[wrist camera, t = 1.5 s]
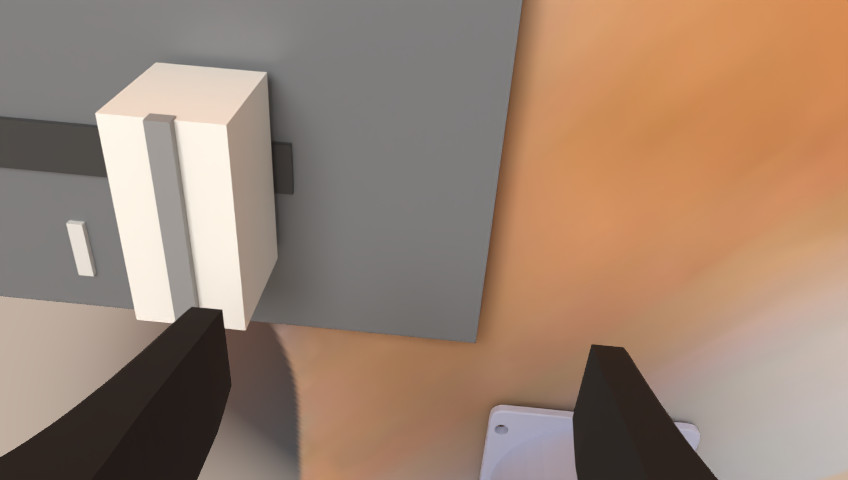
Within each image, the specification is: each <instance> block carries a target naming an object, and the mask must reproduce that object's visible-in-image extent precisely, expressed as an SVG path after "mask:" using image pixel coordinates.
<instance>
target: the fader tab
mask: <svg viewBox="0 0 848 480" xmlns="http://www.w3.org/2000/svg"><path fill="white" fill-rule="evenodd" d="M95 115H96V120H97V125H98V130H99V135H100V140H101V145H102V150H103V155H104V160H105V165H106V170H107V175H108V180H109V185H110V190H111V195H112V200H113V205H114V210H115V215H116V220H117V225H118V230H119V235H120V240H121V245H122V250H123V255H124V260H125V265H126V270H127V274H128V279H129V284H130V289H131V294H132V299H133V304H134V309H135V314H136V319H137V320H146V321H156V322H167V323H174V322H175V321H176V320H177V319H178V318H179V317H180V316H181V315H182V314H183V313H185V312H186V311H187V310H188V309H189V308H191V307H200V308H211V309H221V310H222V311H223V319H224V327H225V328H228V329H237V330H246V328H247V326H248V324H249V321H250V319H251V317H252V315H253V313H254V310H255V308H256V306H257V304H258V301H259V299H260V297H261V295H262V292H263V290H264V288H265V286H266V283H267V281H268V279H269V277H270V274H271V272H272V270H273V268H274V265H275V263H276V261H277V259H278V254H277V236H276V219H275V202H274V185H273V168H272V150H271V133H270V116H269V99H268V81H267V72H259V71H247V70H236V69H225V68H214V67H202V66H191V65H180V64H169V63H157V62H156V63H155V64H153V65H152V66H151V67H150V68H149V69H147V70H146V71H145V72H144V73H143V74H141V75H140V76H139V77H138V78H137V79H135V80H134V81H133V82H132V83H131V84H129V85H128V86H127V87H126V88H125V89H123V90H122V91H121V92H120V93H119V94H117V95H116V96H115V97H114V98H113V99H111V100H110V101H109V102H108V103H107V104H105V105H104V106H103V107H102V108H101V109H99V110H98V111H97V112H96V113H95Z"/></svg>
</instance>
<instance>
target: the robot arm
mask: <svg viewBox="0 0 848 480" xmlns="http://www.w3.org/2000/svg"><path fill="white" fill-rule="evenodd" d="M230 388H231V377H230V369H229V361H228V353H227V344H226V336H225V327H224V319H223V311H222V310H221V309H211V308H200V307H191V308H189V309H188V310H187V311H186V312H185V313H183V314H182V315H181V316H180V317H179V318H178V319H177V320H176V321H175V322H174V323H172V324H171V325H170V326H169V327H168V328H167V329H166V330H165V331H164V332H163V333H162V334H161V335H160V336H158V337H157V338H156V339H155V340H154V341H153V342H152V343H151V344H150V345H148V346H147V347H146V348H145V349H144V350H143V351H142V352H141V353H140V354H138V355H137V356H136V357H135V358H134V359H133V360H132V361H130V362H129V363H128V364H127V365H126V366H125V367H123V368H122V369H121V370H120V371H119V372H118V373H117V374H115V375H114V376H113V377H112V378H111V379H110V380H108V381H107V382H106V383H105V384H103V385H102V386H101V387H100V388H98V389H97V390H96V391H95V392H93V393H92V394H91V395H90V396H88V397H87V398H86V399H85V400H83V401H82V402H81V403H79V404H78V405H77V406H76V407H74V408H73V409H72V410H70V411H69V412H68V413H66V414H65V415H64V416H62V417H61V418H59V419H58V420H57V421H56V422H54V423H53V424H51V425H50V426H48V427H47V428H45V429H44V430H42V431H41V432H40V433H38V434H37V435H35V436H34V437H32V438H31V439H29V440H28V441H26V442H25V443H23V444H21V445H20V446H18V447H17V448H15V449H14V450H12V451H10V452H8V453H7V454H5V455H3V456H2V457H0V480H197V478H198V476H199V474H200V471H201V469H202V467H203V465H204V462H205V460H206V458H207V455H208V453H209V451H210V448H211V446H212V444H213V442H214V439H215V437H216V435H217V432H218V429H219V426H220V423H221V419H222V416H223V413H224V410H225V406H226V402H227V399H228V395H229V392H230ZM498 425H504V427H499V426H498ZM700 438H701V436H700V433H699V430H698V428H697V427H696V426H695V425H693V424H689V423H680V422H673V421H672V419H671V418H670V416H669V415H668V414H667V412H666V411H665V409H664V408H663V406H662V405H661V403H660V402H659V400H658V399H657V397H656V396H655V394H654V393H653V391H652V390H651V388H650V387H649V385H648V384H647V382H646V381H645V379H644V378H643V376H642V375H641V373H640V371H639V370H638V368H637V367H636V365H635V363H634V362H633V360H632V359H631V357H630V356H629V354H628V352H627V351H626V350H625V349H624V347H614V346H603V345H591V349H590V353H589V357H588V361H587V364H586V368H585V372H584V376H583V380H582V383H581V387H580V391H579V395H578V399H577V402H576V406H575V410H574V412H571V411H561V410H552V409H542V408H532V407H522V406H512V405H498V406H495V407H493V408H492V409H491V411H490V415H489V421H488V427H487V433H486V439H485V445H484V452H483V458H482V464H481V470H480V476H479V480H718V479H717V478H716V477H715V476H714V474H713V473H712V472H711V471H710V469H709V468H708V467H707V466H706V464H705V463H704V462H703V461H702V459H701V458H700V457H699V456H698V454H697V453H696V449H697V447H698V444H699V442H700Z"/></svg>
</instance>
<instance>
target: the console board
mask: <svg viewBox="0 0 848 480" xmlns="http://www.w3.org/2000/svg"><path fill="white" fill-rule="evenodd" d="M522 1H523V0H0V296H6V297H16V298H26V299H36V300H46V301H56V302H67V303H77V304H87V305H98V306H107V307H117V308H127V309H134V304H133V299H132V294H131V289H130V284H129V279H128V274H127V270H126V265H125V260H124V255H123V250H122V245H121V240H120V235H119V230H118V225H117V220H116V215H115V210H114V205H113V200H112V195H111V190H110V185H109V180H108V175H107V170H106V165H105V160H104V155H103V150H102V145H101V140H100V135H99V130H98V125H97V120H96V115H95V113H96V112H97V111H98V110H99V109H101V108H102V107H103V106H104V105H105V104H107V103H108V102H109V101H110V100H111V99H113V98H114V97H115V96H116V95H117V94H119V93H120V92H121V91H122V90H123V89H125V88H126V87H127V86H128V85H129V84H131V83H132V82H133V81H134V80H135V79H137V78H138V77H139V76H140V75H141V74H143V73H144V72H145V71H146V70H147V69H149V68H150V67H151V66H152V65H153V64H155V63H156V62H157V63H169V64H180V65H191V66H202V67H214V68H225V69H236V70H247V71H259V72H267V81H268V99H269V116H270V133H271V150H272V168H273V185H274V202H275V219H276V236H277V254H278V259H277V261H276V263H275V265H274V268H273V270H272V272H271V274H270V277H269V279H268V281H267V283H266V286H265V288H264V290H263V292H262V295H261V297H260V299H259V301H258V304H257V306H256V308H255V310H254V313H253V315H252V317H251V319H250V321H258V322H268V323H278V324H289V325H299V326H309V327H319V328H329V329H339V330H349V331H359V332H369V333H379V334H390V335H400V336H410V337H420V338H430V339H440V340H450V341H460V342H470V343H476V337H477V330H478V322H479V315H480V308H481V300H482V293H483V286H484V278H485V271H486V264H487V256H488V249H489V242H490V235H491V227H492V220H493V213H494V205H495V198H496V191H497V183H498V176H499V169H500V162H501V154H502V147H503V140H504V132H505V125H506V118H507V110H508V103H509V96H510V88H511V81H512V74H513V67H514V59H515V52H516V45H517V37H518V30H519V23H520V15H521V8H522Z"/></svg>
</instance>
